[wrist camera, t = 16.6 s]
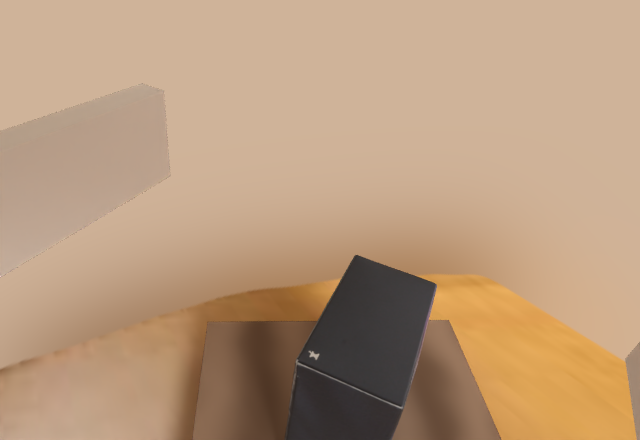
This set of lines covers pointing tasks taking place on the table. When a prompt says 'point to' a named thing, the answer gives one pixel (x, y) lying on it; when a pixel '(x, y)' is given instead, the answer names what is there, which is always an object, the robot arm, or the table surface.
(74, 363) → the table surface
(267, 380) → the base brick
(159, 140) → the robot arm
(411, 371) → the small box
